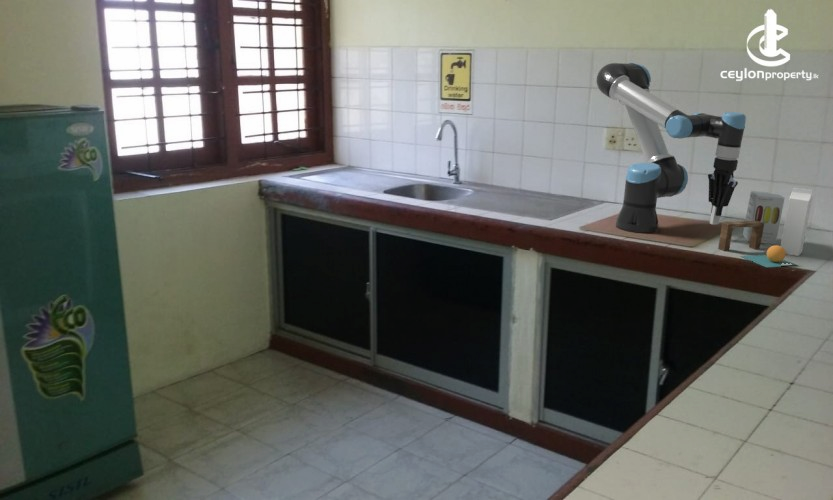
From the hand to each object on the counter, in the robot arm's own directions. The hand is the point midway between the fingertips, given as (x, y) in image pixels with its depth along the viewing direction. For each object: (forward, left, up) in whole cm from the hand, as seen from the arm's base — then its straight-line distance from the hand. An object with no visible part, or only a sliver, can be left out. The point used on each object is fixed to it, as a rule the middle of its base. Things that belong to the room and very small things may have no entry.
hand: (714, 223), depth 264 cm
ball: (+1, -29, -3) cm, 29 cm away
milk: (+15, -21, -6) cm, 26 cm away
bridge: (0, -14, -5) cm, 15 cm away
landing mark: (0, -28, -5) cm, 28 cm away
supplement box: (+16, -5, -6) cm, 18 cm away
